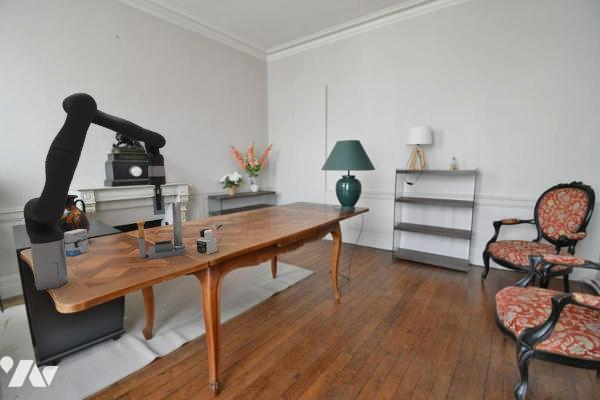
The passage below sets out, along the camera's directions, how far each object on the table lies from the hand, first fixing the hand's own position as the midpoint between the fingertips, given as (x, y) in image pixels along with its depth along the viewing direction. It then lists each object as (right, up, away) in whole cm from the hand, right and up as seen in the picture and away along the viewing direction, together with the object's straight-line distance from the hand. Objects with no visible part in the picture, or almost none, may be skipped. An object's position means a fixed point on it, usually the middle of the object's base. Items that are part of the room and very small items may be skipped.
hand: (159, 208), depth 139 cm
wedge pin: (-8, -17, -2) cm, 19 cm away
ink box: (-43, -23, +3) cm, 49 cm away
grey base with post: (0, -23, +3) cm, 23 cm away
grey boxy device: (+22, -23, +6) cm, 33 cm away
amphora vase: (-59, -21, +16) cm, 65 cm away
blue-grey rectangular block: (0, -2, 0) cm, 2 cm away
